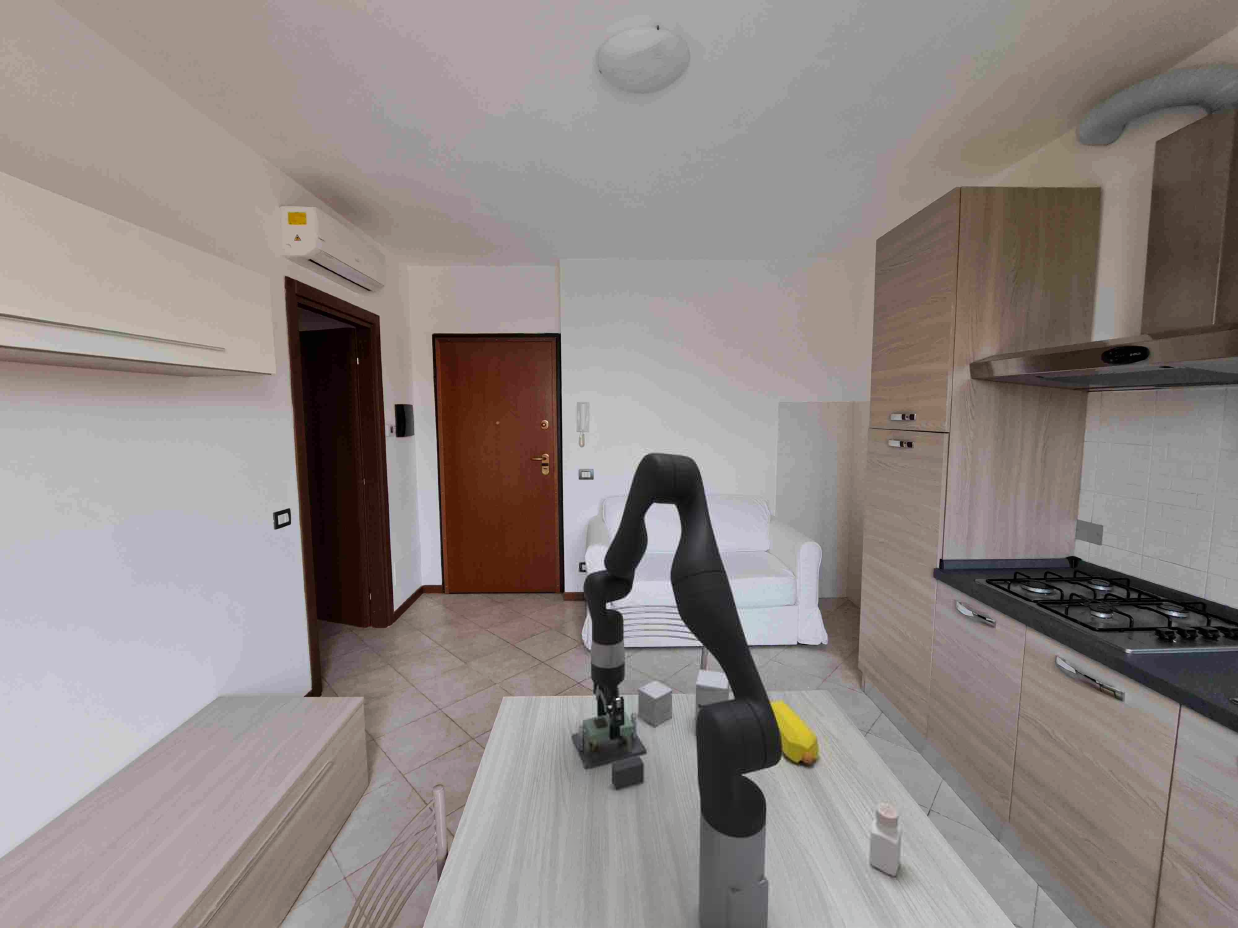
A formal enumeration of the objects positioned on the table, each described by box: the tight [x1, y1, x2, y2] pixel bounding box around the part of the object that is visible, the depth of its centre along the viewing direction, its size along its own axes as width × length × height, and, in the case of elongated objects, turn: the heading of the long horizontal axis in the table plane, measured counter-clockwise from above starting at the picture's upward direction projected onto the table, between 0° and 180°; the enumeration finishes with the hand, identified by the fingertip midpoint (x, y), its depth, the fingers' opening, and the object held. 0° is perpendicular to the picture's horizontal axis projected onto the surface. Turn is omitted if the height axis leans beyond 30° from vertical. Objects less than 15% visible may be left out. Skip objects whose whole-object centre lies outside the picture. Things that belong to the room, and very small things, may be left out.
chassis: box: [571, 713, 647, 770], centre depth 111 cm, size 14×11×6 cm
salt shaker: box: [868, 802, 902, 877], centre depth 81 cm, size 4×4×10 cm
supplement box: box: [694, 669, 730, 736], centre depth 116 cm, size 7×7×13 cm
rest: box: [611, 755, 645, 791], centre depth 100 cm, size 6×2×4 cm, turn 110°
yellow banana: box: [770, 700, 819, 765], centre depth 112 cm, size 18×7×8 cm
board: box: [582, 710, 634, 743], centre depth 111 cm, size 10×6×2 cm, turn 111°
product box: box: [637, 680, 673, 728], centre depth 121 cm, size 6×6×7 cm
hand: (608, 727), depth 111 cm, fingers open, 8 cm apart
